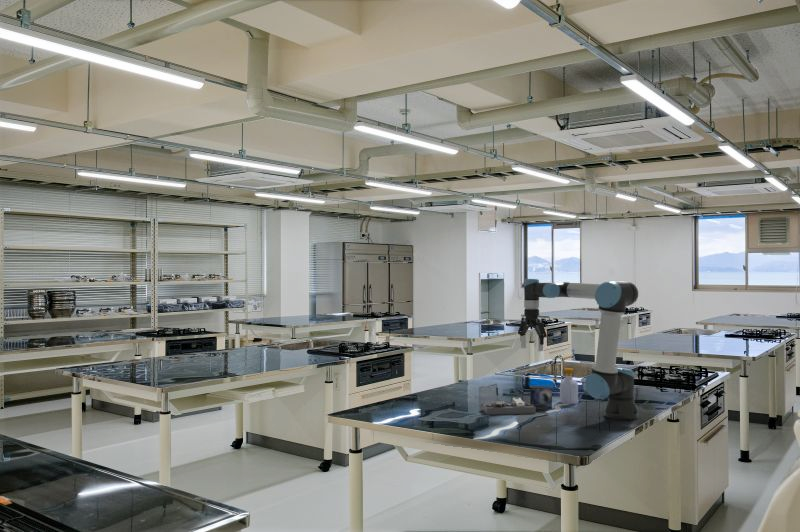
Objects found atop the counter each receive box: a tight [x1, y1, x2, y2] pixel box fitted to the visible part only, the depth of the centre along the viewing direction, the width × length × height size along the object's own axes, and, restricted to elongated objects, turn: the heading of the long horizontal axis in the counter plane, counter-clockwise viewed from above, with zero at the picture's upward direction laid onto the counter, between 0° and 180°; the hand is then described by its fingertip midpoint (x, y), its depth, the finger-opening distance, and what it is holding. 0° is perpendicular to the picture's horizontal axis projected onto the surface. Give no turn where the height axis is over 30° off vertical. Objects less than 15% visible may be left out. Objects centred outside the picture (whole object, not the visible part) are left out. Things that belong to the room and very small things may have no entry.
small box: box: [529, 385, 553, 410], centre depth 316 cm, size 11×6×10 cm, turn 82°
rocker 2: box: [512, 397, 525, 407], centre depth 307 cm, size 8×4×1 cm, turn 6°
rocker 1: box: [492, 400, 505, 404], centre depth 306 cm, size 8×4×1 cm, turn 5°
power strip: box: [481, 400, 549, 415], centre depth 307 cm, size 10×32×5 cm, turn 96°
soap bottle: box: [559, 355, 579, 405], centre depth 327 cm, size 9×9×25 cm
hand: (531, 349), depth 322 cm, fingers open, 13 cm apart
